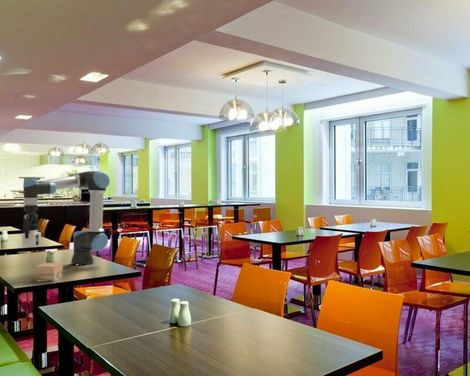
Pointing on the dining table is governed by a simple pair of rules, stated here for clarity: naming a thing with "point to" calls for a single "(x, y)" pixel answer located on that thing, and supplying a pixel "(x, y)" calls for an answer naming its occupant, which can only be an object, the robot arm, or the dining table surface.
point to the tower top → (48, 268)
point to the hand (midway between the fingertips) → (31, 242)
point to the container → (32, 237)
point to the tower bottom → (48, 276)
